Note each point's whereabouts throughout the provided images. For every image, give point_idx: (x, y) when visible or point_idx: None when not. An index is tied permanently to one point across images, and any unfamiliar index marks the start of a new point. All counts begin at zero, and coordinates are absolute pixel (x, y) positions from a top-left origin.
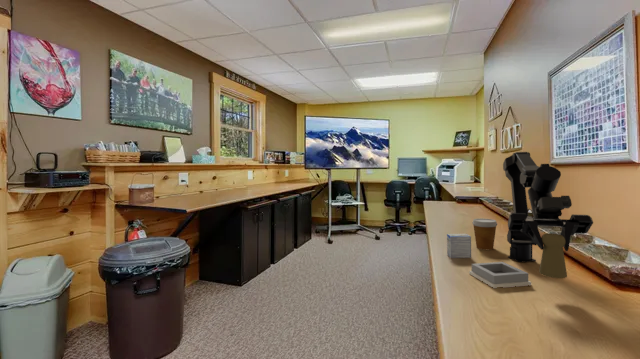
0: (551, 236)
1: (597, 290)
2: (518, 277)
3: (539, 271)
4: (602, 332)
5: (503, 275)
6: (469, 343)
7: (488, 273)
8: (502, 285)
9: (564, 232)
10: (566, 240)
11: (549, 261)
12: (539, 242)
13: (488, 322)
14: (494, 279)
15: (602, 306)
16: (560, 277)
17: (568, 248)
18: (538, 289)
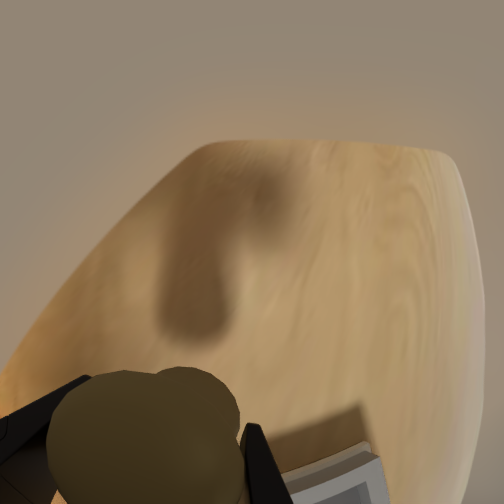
0: (177, 426)
1: None
2: None
3: (236, 436)
4: (203, 197)
5: (342, 474)
6: (435, 168)
7: (384, 479)
8: (336, 456)
9: (5, 476)
10: (49, 412)
11: (215, 394)
12: (272, 458)
13: (415, 225)
14: (370, 455)
15: (95, 333)
16: (180, 367)
17: (82, 376)
18: None
